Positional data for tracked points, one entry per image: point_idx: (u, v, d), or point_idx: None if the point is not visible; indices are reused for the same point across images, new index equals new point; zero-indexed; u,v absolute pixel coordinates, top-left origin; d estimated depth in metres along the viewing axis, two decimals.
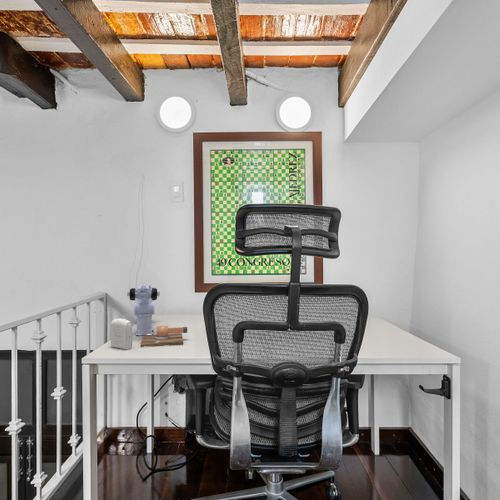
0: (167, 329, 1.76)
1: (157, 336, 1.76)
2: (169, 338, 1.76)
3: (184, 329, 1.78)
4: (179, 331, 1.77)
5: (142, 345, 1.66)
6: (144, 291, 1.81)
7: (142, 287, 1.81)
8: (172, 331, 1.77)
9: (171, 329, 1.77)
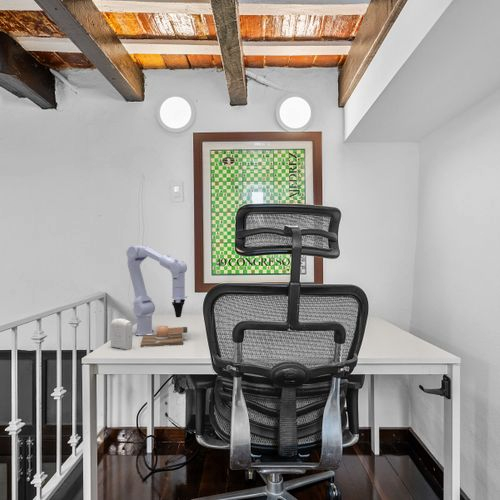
0: (167, 329, 1.76)
1: (157, 336, 1.76)
2: (169, 338, 1.76)
3: (184, 329, 1.78)
4: (179, 331, 1.77)
5: (142, 345, 1.66)
6: None
7: None
8: (172, 331, 1.77)
9: (171, 329, 1.77)
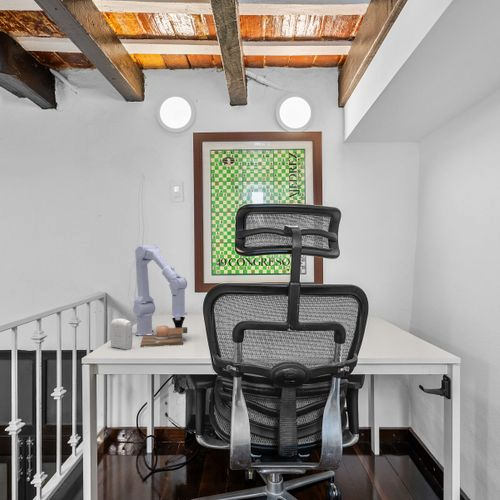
0: (167, 329, 1.76)
1: (157, 336, 1.76)
2: (169, 338, 1.76)
3: (184, 329, 1.77)
4: (179, 331, 1.77)
5: (142, 345, 1.66)
6: None
7: (185, 314, 1.79)
8: (172, 331, 1.76)
9: (171, 329, 1.76)
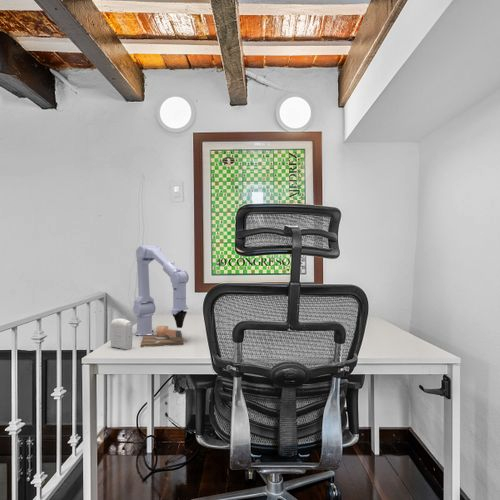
0: (163, 330, 1.74)
1: (157, 336, 1.76)
2: (169, 338, 1.76)
3: (176, 333, 1.70)
4: (173, 334, 1.72)
5: (142, 345, 1.66)
6: None
7: (185, 309, 1.75)
8: (168, 333, 1.73)
9: (167, 330, 1.74)
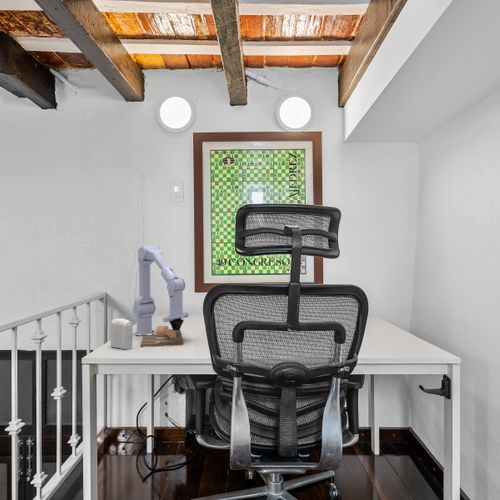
0: (163, 330, 1.74)
1: (157, 336, 1.76)
2: (169, 338, 1.76)
3: (176, 333, 1.70)
4: (172, 334, 1.72)
5: (142, 345, 1.66)
6: None
7: (180, 317, 1.72)
8: (167, 333, 1.73)
9: (167, 330, 1.74)
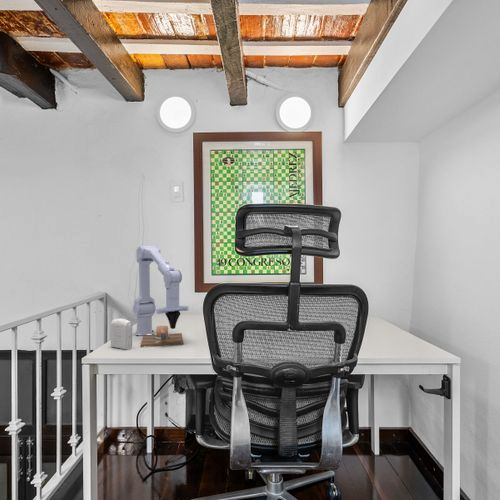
0: (159, 330, 1.74)
1: (157, 336, 1.76)
2: (169, 338, 1.76)
3: None
4: None
5: (142, 345, 1.66)
6: None
7: (174, 310, 1.68)
8: None
9: (161, 331, 1.72)
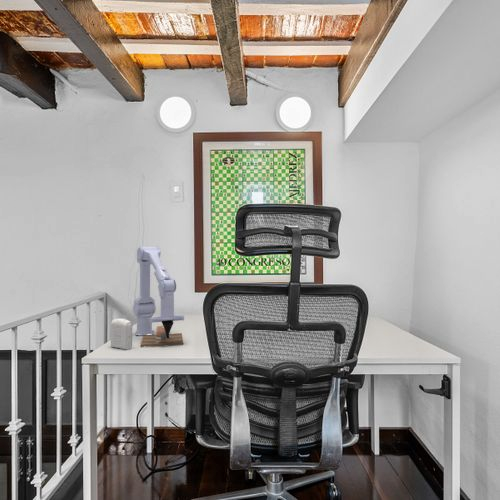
0: (159, 330, 1.74)
1: (157, 336, 1.76)
2: (169, 338, 1.76)
3: None
4: None
5: (142, 345, 1.66)
6: None
7: (167, 319, 1.67)
8: None
9: (160, 331, 1.72)
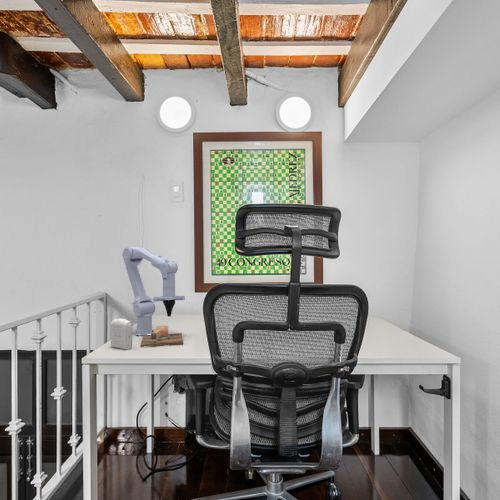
0: (157, 330, 1.75)
1: None
2: (169, 338, 1.76)
3: None
4: None
5: (142, 345, 1.66)
6: None
7: None
8: None
9: None
